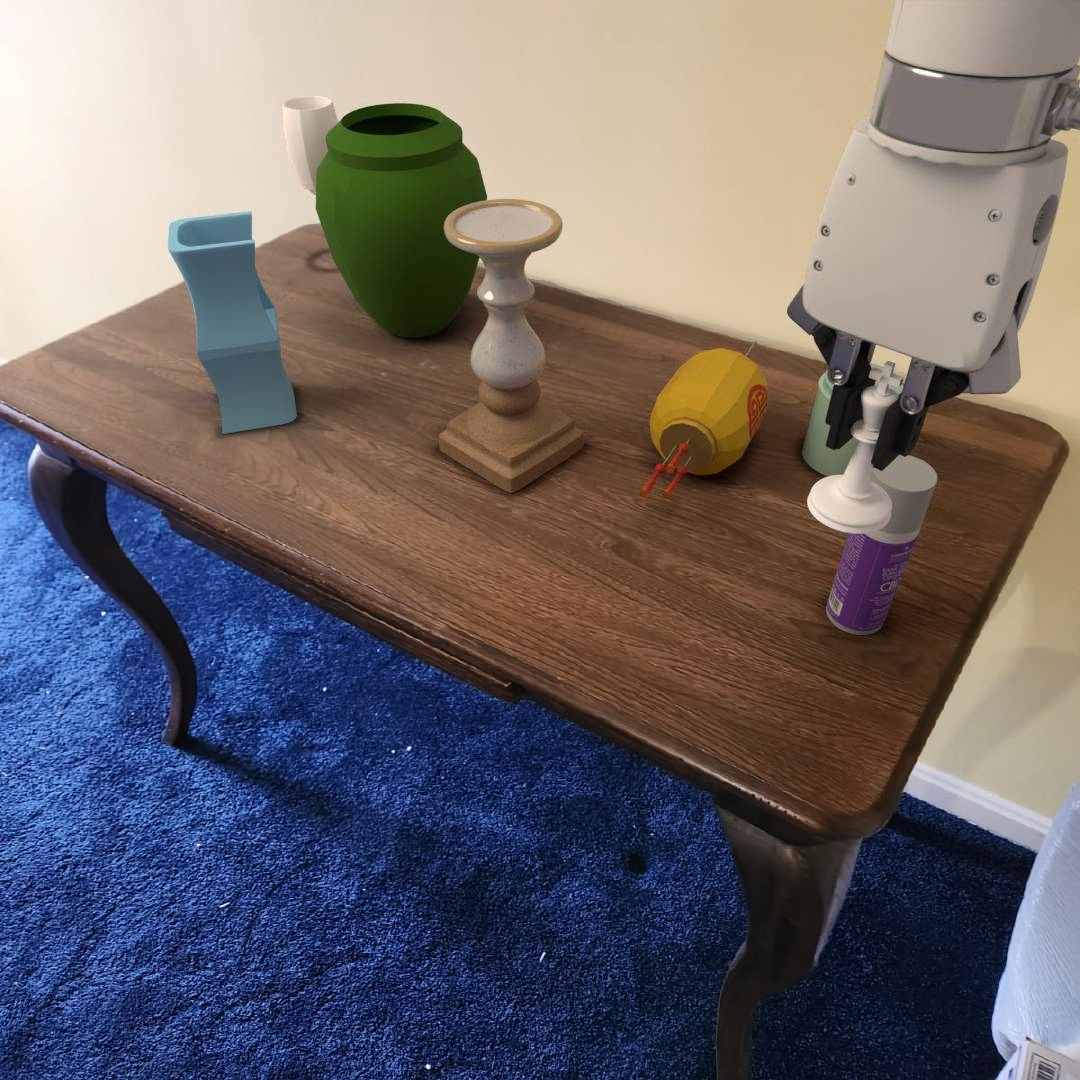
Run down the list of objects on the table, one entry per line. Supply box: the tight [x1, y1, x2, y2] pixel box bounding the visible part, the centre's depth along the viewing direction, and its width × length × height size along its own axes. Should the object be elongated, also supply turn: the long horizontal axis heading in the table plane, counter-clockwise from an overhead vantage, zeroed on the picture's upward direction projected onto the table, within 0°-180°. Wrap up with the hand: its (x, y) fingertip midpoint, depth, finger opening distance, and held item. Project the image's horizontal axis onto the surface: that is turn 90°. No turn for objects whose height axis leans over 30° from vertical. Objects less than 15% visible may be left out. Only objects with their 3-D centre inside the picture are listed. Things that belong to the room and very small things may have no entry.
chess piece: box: [806, 360, 905, 534], centre depth 49 cm, size 5×5×10 cm
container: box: [825, 454, 938, 636], centre depth 67 cm, size 5×5×15 cm
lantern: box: [639, 340, 769, 499], centre depth 85 cm, size 10×10×30 cm
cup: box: [282, 95, 339, 196], centre depth 116 cm, size 7×7×21 cm
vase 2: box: [167, 210, 298, 435], centre depth 88 cm, size 8×8×20 cm
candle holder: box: [438, 198, 585, 494], centre depth 81 cm, size 11×11×24 cm
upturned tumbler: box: [801, 362, 904, 477], centre depth 85 cm, size 8×8×9 cm
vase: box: [315, 102, 488, 339], centre depth 101 cm, size 20×20×24 cm
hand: (865, 446), depth 49 cm, fingers closed on chess piece
